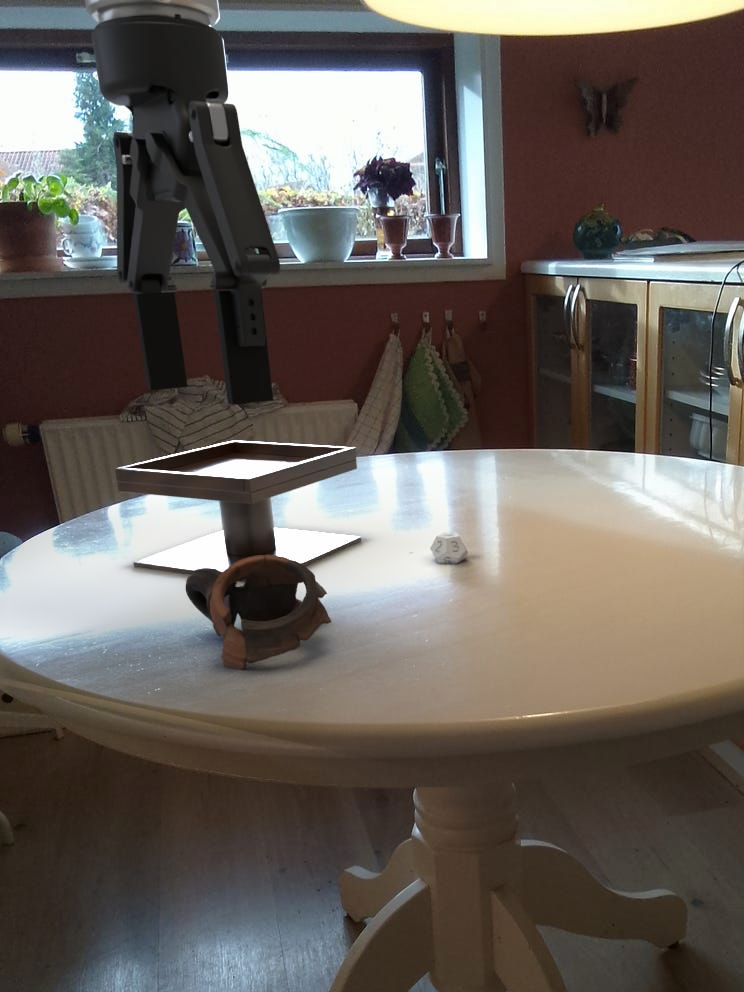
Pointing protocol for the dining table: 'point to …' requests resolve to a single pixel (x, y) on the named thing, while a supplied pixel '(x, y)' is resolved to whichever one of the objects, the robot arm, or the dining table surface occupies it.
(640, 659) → the dining table surface
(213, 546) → the cup holder
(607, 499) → the dining table surface
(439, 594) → the dining table surface
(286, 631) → the pottery mug
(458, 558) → the game die
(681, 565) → the dining table surface
